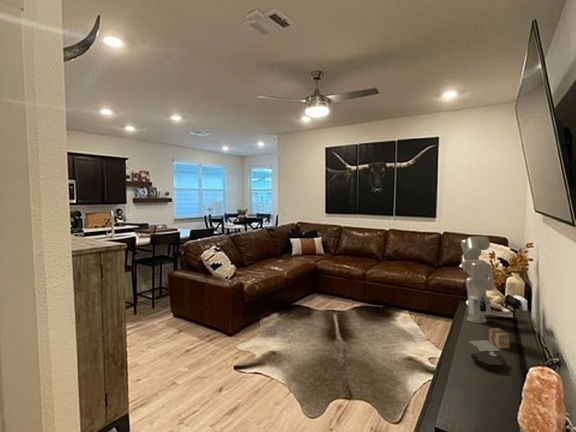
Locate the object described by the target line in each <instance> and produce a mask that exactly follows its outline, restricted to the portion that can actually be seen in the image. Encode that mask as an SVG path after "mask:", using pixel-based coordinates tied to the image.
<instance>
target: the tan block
mask: <svg viewBox="0 0 576 432" xmlns="http://www.w3.org/2000/svg"><path fill="white" fill-rule="evenodd" d="M488 342H490V343H491V344H493V345H494V346H495V347H497V348H498V349H510V348H511V347H510V345H511V344H510V334H509V333H507V332H505V331H504V330H503V329H501V328H499V327H495V328H493V327H492V328H488Z"/></svg>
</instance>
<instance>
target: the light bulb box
mask: <svg viewBox="0 0 576 432" xmlns="http://www.w3.org/2000/svg"><path fill="white" fill-rule="evenodd" d="M482 300H483V299H482ZM487 301H488V302H487V304H486V311H483V312H481V311H480V305H481V303H480V301H478V299H477V298H475V297H473V296H469V309H468V311H469V310H470V313H472V314H473V315H484V316H489V315H492V308H491V306H492V304H491V297H489V296H487ZM483 302H484V301H482V303H483Z"/></svg>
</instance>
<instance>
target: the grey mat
mask: <svg viewBox="0 0 576 432" xmlns="http://www.w3.org/2000/svg"><path fill="white" fill-rule="evenodd" d="M468 342H469V343H470V344H471V345H472V344H473V345H474V346H473V345H472V346H473V347H475V346H477V348H478V349H479V350H478V349H477V348H476V349H477V350H478V351H479V352H482V351H484V350H488V351H492V352H500V351H501V349H500V348H498V347H496V346H495V345H494V344H492V343H491V342H490V341H489V340H487V339H486V340H485V339H482V340H481V339H480V340H468Z"/></svg>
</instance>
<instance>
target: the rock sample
mask: <svg viewBox="0 0 576 432" xmlns="http://www.w3.org/2000/svg"><path fill="white" fill-rule="evenodd" d="M470 356H471V359H472V361H473V363H474V366H476V367H478V368H480V369H483V370H486V371H489V372H493V373H496V372H502V371H505V370H506V366H507V365H506V364H507V362H506V358H504V357H501V355H500V353H498V352H497V351H488V350H484V351H482V352H481V351H479V352H472V353H471V355H470Z"/></svg>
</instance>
